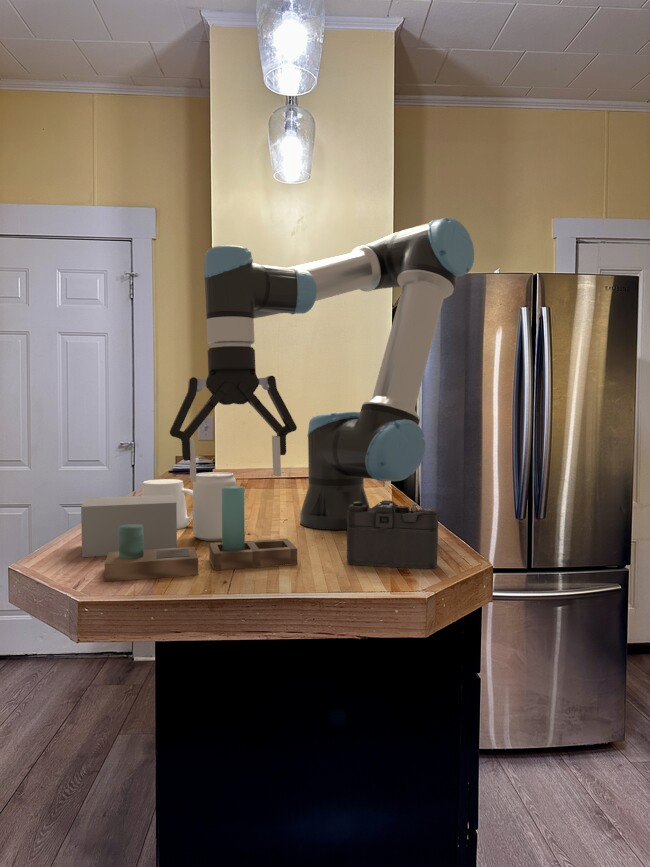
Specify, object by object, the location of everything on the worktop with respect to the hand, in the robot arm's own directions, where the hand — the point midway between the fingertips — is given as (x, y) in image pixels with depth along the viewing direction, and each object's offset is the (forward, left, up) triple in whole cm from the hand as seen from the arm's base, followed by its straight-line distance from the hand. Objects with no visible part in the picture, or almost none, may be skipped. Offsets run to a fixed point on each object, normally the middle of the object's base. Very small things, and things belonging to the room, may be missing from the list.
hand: (236, 478), depth 101 cm
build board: (-2, +3, -13) cm, 14 cm away
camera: (-24, +8, -14) cm, 29 cm away
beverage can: (+2, -17, -13) cm, 22 cm away
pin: (+1, +3, -13) cm, 13 cm away
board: (+13, +5, -13) cm, 19 cm away
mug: (+10, -30, -13) cm, 35 cm away
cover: (+17, -12, -13) cm, 25 cm away
